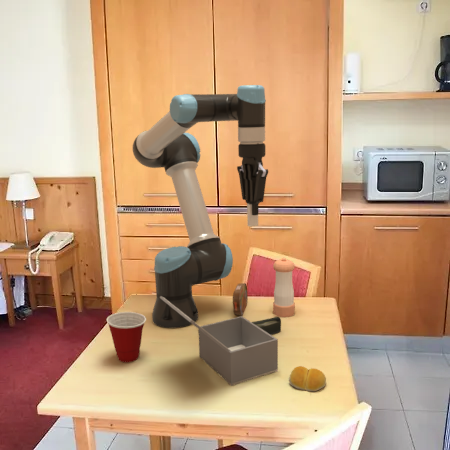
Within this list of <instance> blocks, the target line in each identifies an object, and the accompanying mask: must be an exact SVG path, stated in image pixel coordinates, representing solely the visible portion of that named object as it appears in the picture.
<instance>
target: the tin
mask: <svg viewBox="0 0 450 450" xmlns="http://www.w3.org/2000/svg"><path fill="white" fill-rule="evenodd" d="M248 298H249V297H248V286H247V283H245V282H244V283H241V282H240V283H237V284H236V286H235V289H234V291H233V294H232V306H233V314H234V315H235V316H244V313H245V311H246V309H247V306H248Z"/></svg>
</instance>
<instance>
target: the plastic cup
mask: <svg viewBox="0 0 450 450" xmlns="http://www.w3.org/2000/svg"><path fill="white" fill-rule="evenodd" d="M146 321H147V318H146V316H145V315H144V314H142V313H139V312H134V311H119V312H116V313H115V312H114V313H112V314H111V315H108V316H107V318H106V322H107V325H108V327H109V331H110V335H111V337H112V342H113V345H114V346H113V347H114V349H115V353H116V357H117V359H118V361H119V362H121V363H131V362H134V361H137V360H138V359H139V357H140V351H141V346H142V337H143V329H144V326H145V323H146Z"/></svg>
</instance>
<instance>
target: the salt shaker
mask: <svg viewBox="0 0 450 450" xmlns="http://www.w3.org/2000/svg"><path fill="white" fill-rule="evenodd" d="M295 266H296V265H295V263H294V262H293V261H292V260H290V259H287V258H286V257H282V258H281V259H277V260H275V261H274V262H273V265H272V267H273V268H272V269H274V271H275V284H274V290H273V291H274V292H273V302H272V312H273V313H272V314H273V315H274V316H275V317H279V318H289V317H293V316H295V314H296V313H295V312H296V311H295V310H296V308H295V307H296V306H295V305H296V304H295V302H294V301H295V291H294V286H293V271H294V270H295Z"/></svg>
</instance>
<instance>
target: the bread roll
mask: <svg viewBox="0 0 450 450" xmlns="http://www.w3.org/2000/svg"><path fill="white" fill-rule="evenodd" d="M325 375H326V374H325V373H324V372H323V371H322V370H320V369H318V368H312V367H311V368H310V369H309V368H307V367H305V366H302V365H300V366H296V367H294V368H293V369H292V370H291V371H290V374H289V377H288V382H289V385H290V386H292V387H293V388H295V389H297V390H301V391H302V390H303V391H305V390H306V391H307V392H316V391H318V390H321V389H323V388H324V387H325V386H326V384H327V383H326V382H327V377H326V376H325Z"/></svg>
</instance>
